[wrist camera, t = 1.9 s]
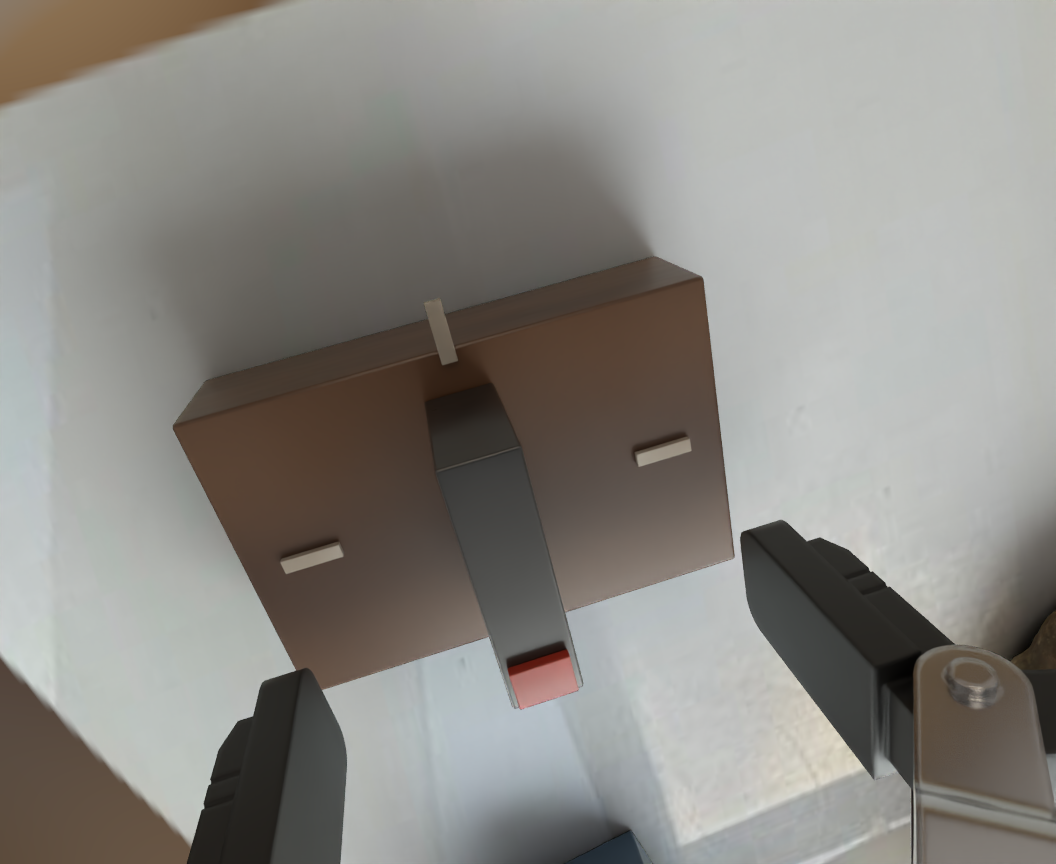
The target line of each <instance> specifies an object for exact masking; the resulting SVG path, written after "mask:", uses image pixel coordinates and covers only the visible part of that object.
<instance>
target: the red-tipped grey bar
mask: <svg viewBox="0 0 1056 864" xmlns="http://www.w3.org/2000/svg"><path fill="white" fill-rule="evenodd" d="M425 410H426V417H427V424H428V430H429V437H430V443H431V450H432V456H433V463H434V470H435V474H436V477H437V480H438V483H439V486H440V489H441V493H442V496H443V499H444V502H445V505H446V508H447V511H448V514H449V517H450V520H451V523H452V526H453V529H454V532H455V535H456V538H457V541H458V544H459V547H460V550H461V553H462V556H463V559H464V562H465V565H466V568H467V571H468V574H469V577H470V580H471V583H472V586H473V589H474V592H475V595H476V598H477V601H478V604H479V607H480V610H481V613H482V616H483V619H484V622H485V625H486V629H487V632H488V635H489V638H490V641H491V644H492V647H493V650H494V653H495V656H496V659H497V662H498V665H499V668H500V671H501V674H502V677H503V680H504V683H505V686H506V689H507V692H508V695H509V698H510V701H511V704H512V707H513V708H520V709H524V708H527V707H530V706H533V705H537V704H540V703H543V702H546V701H549V700H552V699H555V698H558V697H561V696H564V695H567V694H570V693H573V692H576V691H578V690H579V689H578V688H580V687H582V686H583V680H582V676H581V672H580V668H579V664H578V660H577V657H576V653H575V649H574V645H573V641H572V637H571V634H570V630H569V626H568V622H567V618H566V614H565V611H564V607H563V603H562V599H561V595H560V591H559V587H558V584H557V580H556V576H555V572H554V568H553V564H552V561H551V557H550V553H549V549H548V545H547V541H546V538H545V534H544V530H543V526H542V522H541V518H540V515H539V511H538V507H537V503H536V499H535V495H534V492H533V488H532V484H531V480H530V476H529V472H528V468H527V465H526V461H525V457H524V453H523V449H522V446H521V444H520V442H519V439H518V437H517V435H516V433H515V430H514V428H513V426H512V424H511V421H510V419H509V417H508V415H507V412H506V410H505V408H504V406H503V403H502V401H501V399H500V397H499V395H498V392H497V390H496V388H495V386H494V384H493V383H488V384H485V385H481V386H478V387H474V388H471V389H467V390H464V391H460V392H457V393H453V394H450V395H446V396H443V397H439V398H436V399H432V400H429V401H426V402H425Z"/></svg>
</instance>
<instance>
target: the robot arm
mask: <svg viewBox="0 0 1056 864" xmlns="http://www.w3.org/2000/svg"><path fill="white" fill-rule="evenodd" d="M740 543H741V552H742V561H743V570H744V578H745V587H746V596H747V601H748V605H749V608H750V611H751V614H752V616H753V618H754V620H755V622H756V624H757V626H758V628H759V629H760V631H761V632H762V633H763V635H764V636H765V637H766V639H767V640H768V641H769V643H770V644H771V645H772V647H773V648H774V649H775V651H776V652H777V653H778V654H779V656H780V657H781V658H782V660H783V661H784V662H785V664H786V665H787V666H788V668H789V669H790V670H791V672H792V673H793V674H794V675H795V677H796V678H797V679H798V681H799V682H800V683H801V685H802V686H803V687H804V689H805V690H806V691H807V693H808V694H809V695H810V696H811V698H812V699H813V700H814V702H815V703H816V704H817V706H818V707H819V708H820V710H821V711H822V712H823V713H824V715H825V716H826V717H827V719H828V720H829V721H830V723H831V724H832V725H833V727H834V728H835V729H836V731H837V732H838V733H839V734H840V736H841V737H842V738H843V740H844V741H845V742H846V744H847V745H848V746H849V748H850V749H851V750H852V752H853V753H854V754H855V755H856V757H857V758H858V759H859V761H860V762H861V763H862V765H863V766H864V767H865V769H866V770H867V771H868V773H869V774H870V775H871V776H872V778H873V779H874V780H877V779H880V778H883V777H886V776H889V775H891V774H894V773H897V772H898V773H899V774H900V775H901V776H902V778H903V779H904V780H905V781H906V782H907V784H908V785H909V786H910V787H911V864H1056V669H1044V670H1022V669H1019V668H1018V667H1017V666H1016V665H1014V664H1013V663H1012V662H1010V661H1009V660H1007V659H1005V658H1004V657H1002V656H1000V655H998V654H995V653H993V652H991V651H988V650H985V649H981V648H978V647H973V646H966V645H955V644H954V643H953V642H952V641H951V640H950V639H948V638H947V637H946V636H945V635H944V634H943V633H942V632H940V631H939V630H938V629H937V628H936V627H935V626H934V625H933V624H931V623H930V622H929V621H928V620H927V619H926V618H925V617H924V616H922V615H921V614H920V613H919V612H918V611H917V610H916V609H914V608H913V607H912V606H911V605H910V604H909V603H908V602H907V601H905V600H904V599H903V598H902V597H901V596H900V595H899V594H898V593H896V592H895V591H894V590H893V589H892V588H891V587H887V586H886V583H885V582H884V581H883V580H882V579H881V578H879V577H878V576H877V575H876V574H875V573H874V572H870V571H869V568H868V567H867V566H866V565H865V564H864V563H862V562H861V561H860V560H859V559H858V558H857V557H856V556H855V555H853V554H852V553H851V552H850V551H849V550H847V549H845V548H843V547H841V546H838V545H836V544H834V543H831V542H829V541H827V540H824V539H822V538H817V539H813V540H810V541H806V540H805V539H804V538H803V537H802V536H801V535H799V534H798V533H797V532H796V531H795V530H794V529H793V528H792V527H791V526H790V525H789V524H788V523H787V522H785V521H783V520H778V521H775V522H772V523H769V524H766V525H762V526H759V527H756V528H753V529H750V530H747V531H743V532H742V533H741V537H740ZM346 772H347V755H346V747H345V742H344V738H343V734H342V731H341V729H340V726H339V724H338V722H337V720H336V718H335V716H334V714H333V712H332V710H331V708H330V706H329V704H328V702H327V700H326V698H325V696H324V694H323V692H322V690H321V688H320V686H319V684H318V682H317V680H316V678H315V676H314V674H313V672H312V671H311V670H310V669H309V668H304V669H300V670H297V671H294V672H291V673H288V674H285V675H281V676H278V677H275V678H272V679H269V680H266V681H264V682H263V683H262V685H261V687H260V690H259V694H258V699H257V703H256V707H255V711H254V715H253V717H250V718H247V719H243V720H240V721H238V722H237V723H236V725H235V726H234V728H233V729H232V731H231V732H230V734H229V735H228V737H227V738H226V740H225V741H224V743H223V744H222V746H221V747H220V749H219V751H218V754H217V758H216V761H215V765H214V768H213V772H212V776H211V779H210V780H211V785H209V786H208V790H207V793H206V797H205V801H204V809H203V810H202V811H201V815H200V818H199V822H198V825H197V829H196V833H195V836H194V840H193V843H192V847H191V850H190V854H189V857H188V861H187V864H340V860H341V845H342V831H343V816H344V801H345V786H346Z"/></svg>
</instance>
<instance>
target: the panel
mask: <svg viewBox="0 0 1056 864" xmlns="http://www.w3.org/2000/svg"><path fill="white" fill-rule="evenodd" d="M424 307H425V310H426V313H427V317H428V319H426V320H422V321H419V322H415V323H412V324H408V325H404V326H401V327H397V328H394V329H390V330H386V331H383V332H379V333H375V334H372V335H368V336H365V337H361V338H357V339H354V340H350V341H347V342H343V343H339V344H336V345H332V346H329V347H325V348H321V349H318V350H314V351H311V352H307V353H303V354H300V355H296V356H292V357H289V358H285V359H282V360H278V361H274V362H271V363H267V364H264V365H260V366H256V367H253V368H249V369H246V370H242V371H238V372H235V373H231V374H228V375H224V376H220V377H217V378H213V379H210V380H206V381H205V382H204V383H203V385H202V386H201V388H200V389H199V390H198V392H197V393H196V394H195V396H194V397H193V398H192V400H191V401H190V402H189V404H188V405H187V407H186V408H185V409H184V411H183V412H182V413H181V415H180V416H179V417H178V419H177V420H176V422H175V423H174V424H173V430H174V432H175V434H176V436H177V438H178V440H179V442H180V444H181V446H182V448H183V450H184V452H185V454H186V456H187V458H188V460H189V461H190V463H191V465H192V467H193V469H194V471H195V473H196V475H197V477H198V479H199V481H200V483H201V485H202V487H203V489H204V491H205V493H206V495H207V497H208V499H209V501H210V503H211V505H212V506H213V508H214V510H215V512H216V514H217V516H218V518H219V520H220V522H221V524H222V526H223V528H224V530H225V532H226V534H227V536H228V538H229V540H230V542H231V544H232V546H233V548H234V550H235V551H236V553H237V555H238V557H239V559H240V561H241V563H242V565H243V567H244V569H245V571H246V573H247V575H248V577H249V579H250V581H251V583H252V585H253V587H254V589H255V591H256V593H257V595H258V597H259V598H260V600H261V602H262V604H263V606H264V608H265V610H266V612H267V614H268V616H269V618H270V620H271V622H272V624H273V626H274V628H275V630H276V632H277V634H278V636H279V638H280V640H281V642H282V643H283V645H284V647H285V649H286V651H287V653H288V655H289V657H290V659H291V661H292V663H293V665H294V667H295V669H296V671H297V670H300V669H304V668H309V669H310V670H311V671H312V672H313V674H314V676H315V678H316V680H317V682H318V684H319V686H320V688H321V690H323V689H326V688H330V687H333V686H336V685H339V684H342V683H345V682H348V681H352V680H355V679H358V678H361V677H364V676H367V675H370V674H373V673H377V672H380V671H383V670H386V669H389V668H392V667H395V666H399V665H402V664H405V663H408V662H411V661H414V660H417V659H420V658H424V657H427V656H430V655H433V654H436V653H439V652H442V651H446V650H449V649H452V648H455V647H458V646H461V645H464V644H467V643H471V642H474V641H477V640H480V639H483V638H486V637H489V635H488V632H487V629H486V625H485V622H484V619H483V616H482V613H481V610H480V607H479V604H478V601H477V598H476V595H475V592H474V589H473V586H472V583H471V580H470V577H469V574H468V571H467V568H466V565H465V562H464V559H463V556H462V553H461V550H460V547H459V544H458V541H457V538H456V535H455V532H454V529H453V526H452V523H451V520H450V517H449V514H448V511H447V508H446V505H445V502H444V499H443V496H442V493H441V489H440V486H439V483H438V480H437V477H436V474H435V470H434V463H433V456H432V450H431V443H430V437H429V430H428V424H427V417H426V410H425V402H426V401H429V400H432V399H436V398H439V397H443V396H446V395H450V394H453V393H457V392H460V391H464V390H467V389H471V388H474V387H478V386H481V385H485V384H488V383H493V384H494V386H495V388H496V390H497V392H498V395H499V397H500V399H501V401H502V403H503V406H504V408H505V410H506V412H507V415H508V417H509V419H510V421H511V424H512V426H513V428H514V430H515V433H516V435H517V437H518V439H519V442H520V444H521V446H522V449H523V453H524V457H525V461H526V465H527V468H528V472H529V476H530V480H531V484H532V488H533V492H534V495H535V499H536V503H537V507H538V511H539V515H540V518H541V522H542V526H543V530H544V534H545V538H546V541H547V545H548V549H549V553H550V557H551V561H552V564H553V568H554V572H555V576H556V580H557V584H558V587H559V591H560V595H561V599H562V603H563V607H564V611H565V612H568V611H571V610H574V609H577V608H580V607H583V606H587V605H590V604H593V603H596V602H599V601H602V600H605V599H609V598H612V597H615V596H618V595H621V594H624V593H627V592H630V591H634V590H637V589H640V588H643V587H646V586H649V585H652V584H656V583H659V582H662V581H665V580H668V579H671V578H674V577H677V576H681V575H684V574H687V573H690V572H693V571H696V570H699V569H703V568H706V567H709V566H712V565H715V564H718V563H721V562H724V561H728V560H731V559H733V558H734V547H733V538H732V529H731V520H730V512H729V503H728V494H727V485H726V476H725V467H724V458H723V449H722V441H721V432H720V423H719V414H718V405H717V396H716V387H715V378H714V370H713V361H712V352H711V343H710V334H709V325H708V316H707V308H706V299H705V290H704V281H703V278H702V276H699V275H697V274H695V273H693V272H690V271H688V270H686V269H683V268H681V267H679V266H677V265H674V264H672V263H670V262H667V261H665V260H663V259H661V258H658V257H655V256H653V257H650V258H646V259H643V260H639V261H635V262H632V263H628V264H624V265H621V266H617V267H614V268H610V269H606V270H603V271H599V272H596V273H592V274H588V275H585V276H581V277H578V278H574V279H570V280H567V281H563V282H560V283H556V284H552V285H549V286H545V287H541V288H538V289H534V290H531V291H527V292H523V293H520V294H516V295H513V296H509V297H505V298H502V299H498V300H495V301H491V302H487V303H484V304H480V305H477V306H473V307H469V308H466V309H462V310H458V311H455V312H451V313H448V314H445V313H444V310H443V306H442V303H441V300H440V298H437V299H434V300H430V301H426V302H424Z"/></svg>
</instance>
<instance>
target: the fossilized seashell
mask: <svg viewBox="0 0 1056 864" xmlns="http://www.w3.org/2000/svg"><path fill="white" fill-rule="evenodd" d="M1010 662H1012V663H1013V664H1014V665H1016V666H1017V667H1018V668H1019V669H1022V670H1044V669H1056V610H1055V611H1054V612H1053V613H1051V614H1050V615H1049V616H1048V617H1047V618H1046V620H1045V621H1044V623H1043V624H1042V626H1041V627H1040V630H1039V632H1038V633H1037V634H1036V635H1035V637H1034V639H1033V641H1032V644H1031V646H1030V647H1029V648H1028V649H1027V650H1025V651H1024V652H1023V653H1021V654H1019V655H1017V656H1015V657H1013V659H1012V660H1011V661H1010Z"/></svg>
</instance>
